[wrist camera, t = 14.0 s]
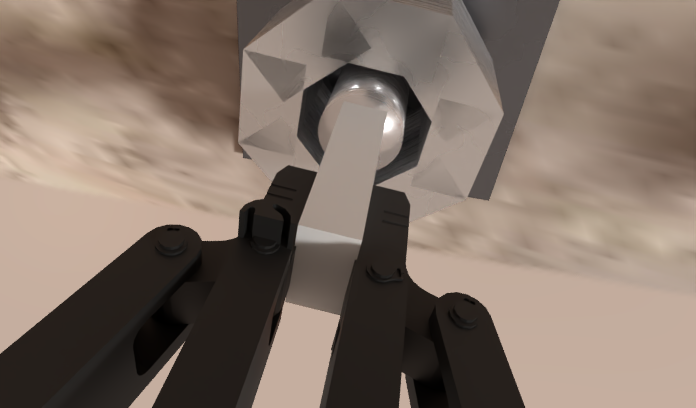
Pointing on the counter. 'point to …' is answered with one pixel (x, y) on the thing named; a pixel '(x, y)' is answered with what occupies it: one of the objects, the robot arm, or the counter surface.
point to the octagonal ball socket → (385, 55)
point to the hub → (398, 97)
